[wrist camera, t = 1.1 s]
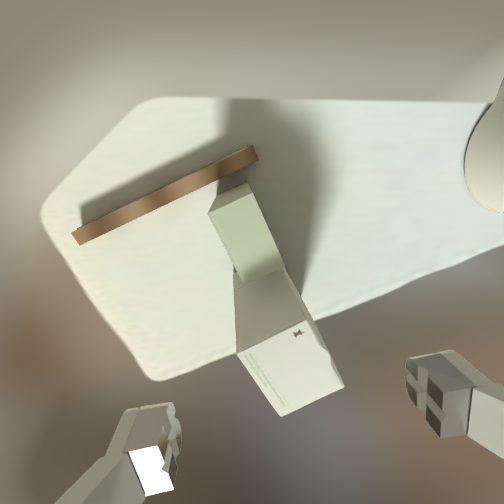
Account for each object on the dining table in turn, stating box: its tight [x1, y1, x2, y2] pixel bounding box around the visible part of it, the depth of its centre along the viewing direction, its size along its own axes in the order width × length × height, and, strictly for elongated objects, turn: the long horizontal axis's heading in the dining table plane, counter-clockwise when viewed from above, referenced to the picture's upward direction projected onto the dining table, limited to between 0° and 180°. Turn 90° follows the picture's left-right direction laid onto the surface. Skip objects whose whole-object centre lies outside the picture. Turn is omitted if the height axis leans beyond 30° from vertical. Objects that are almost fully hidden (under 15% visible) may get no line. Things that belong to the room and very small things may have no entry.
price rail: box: [71, 145, 259, 245], centre depth 32 cm, size 22×2×2 cm, turn 114°
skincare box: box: [233, 268, 344, 417], centre depth 30 cm, size 8×7×16 cm
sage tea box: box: [208, 182, 286, 285], centre depth 29 cm, size 7×4×11 cm, turn 24°
